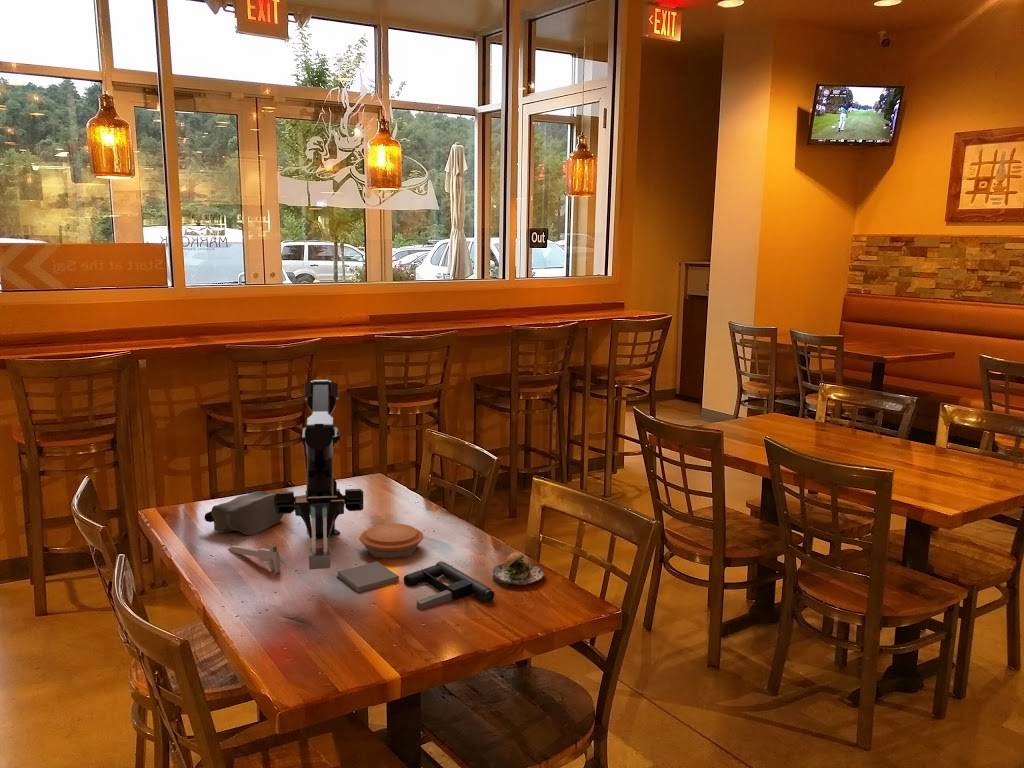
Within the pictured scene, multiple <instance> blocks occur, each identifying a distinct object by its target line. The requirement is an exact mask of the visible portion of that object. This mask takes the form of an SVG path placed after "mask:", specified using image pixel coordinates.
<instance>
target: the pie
mask: <svg viewBox="0 0 1024 768" xmlns="http://www.w3.org/2000/svg"><path fill="white" fill-rule="evenodd" d="M359 540H360V542H361V544H362V545H363V546H364V547H365V549H366V550H367V551H368V553H369V554H370V555H372V556H374V557H375V558H376V557H377V558H380V559H389V558H390V559H399V558H404V557H407V556H409V555H411V554H413V552H415V550H416V549H417V547H418V546H419V544H420V543H421V542H422V541H423V540H424V534H423V532H422V531H421V530H419V529H417V528H415V527H413V526H412V525H408V524H405V523H383V524H382V523H381V524H379V525H373V526H372V527H369V528H368V529H366V530H363V532H361V533H360V536H359Z"/></svg>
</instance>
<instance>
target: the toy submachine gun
mask: <svg viewBox="0 0 1024 768" xmlns="http://www.w3.org/2000/svg"><path fill="white" fill-rule="evenodd" d="M442 579H445V580H448V581H449V582H451V583H450V584H445V583H443V582H442V581H441V580H442ZM403 582H404V584H405V585H407V586H409V587H414V586H417V585H419V584H422V583H426V584H427V585H429V586H431V587H432V588H434V589H435V590H437V591H438V592H437V593H434V594H432V595H429V596H426V597H423V598H421V599H417V600H416V607H417V608H418V609H420V610H423V609H426V608H429V607H433V606H436V605H440V604H442V603H446V602H448V601H451V600H452V601H457V600H460V599H463V598H466V597H469V596H474V597H476V598H477V599H479V600H481V601H483V602H485V603H491V602H492V601H493V600H494V598H495V590H492V589H491V588H490V587H488V586H487V585H485V584H483V583H482V582H479V581H478V580H476V579H475V578H472V577H471V576H469V575H468V574H466V573H464V572H462V571H461V570H458V568H455V567H454V565H453V564H452V565H450V564H449V563H447V562H445V561H442V560H441V561H439V562H436V564H434V565H432V566H429V567H426V568H422V569H420V570H417V571H414V572H411V573H408V574H406V575H404V577H403Z"/></svg>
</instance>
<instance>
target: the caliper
mask: <svg viewBox="0 0 1024 768" xmlns="http://www.w3.org/2000/svg"><path fill="white" fill-rule="evenodd" d="M227 550H228V551H230V552H231V553H233V554H239V555H244V556H245V555H246V556H250V557H255V558H256V557H257V558H259V561H260V562H262V561H263V562H265V561H267V564H268V566H269V569H270V572H272V573H275V574H279V573H281V572H282V571H281V570H282V569H281V567H282V566H281V558H280V557H281V556H280V552H279V551H278V549H277V545H275V546H274V545H270V546H269V548H263V547H261V548H259V549H258V548H253V547H246V546H242V545H241V546H240V545H231V546H230V547H228V548H227Z"/></svg>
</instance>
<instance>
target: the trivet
mask: <svg viewBox="0 0 1024 768" xmlns="http://www.w3.org/2000/svg"><path fill="white" fill-rule="evenodd" d="M336 573H337V577H338V579H340V580H342V581H343V582H344V583H346V584H347V585H348V586H349V587H351V588H352V589H353V590H354V591H355V592H358V593H361V592H364V591H368V590H371V589H376V588H378V587H383V586H387V585H390V584H393V583H397V582H400V576H399V575H398V574H396V573H395V572H393V571H392V570H391V569H389V568H388V567H386V566H385V565H383V564H382V563H380V562H379V561H373V562H369V563H365V564H362V565H358V566H354V567H350V568H345V569H342V570H338V571H337V572H336Z"/></svg>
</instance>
